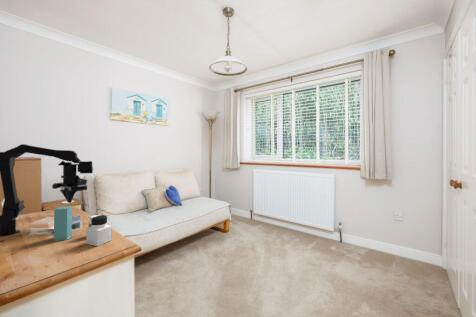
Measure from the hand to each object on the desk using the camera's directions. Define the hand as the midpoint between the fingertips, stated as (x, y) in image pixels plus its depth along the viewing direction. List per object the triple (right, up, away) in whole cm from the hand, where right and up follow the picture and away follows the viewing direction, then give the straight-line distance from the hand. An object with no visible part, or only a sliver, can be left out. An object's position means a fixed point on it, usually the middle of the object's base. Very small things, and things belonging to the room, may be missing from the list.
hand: (69, 202), depth 118 cm
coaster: (+9, -14, -16) cm, 23 cm away
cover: (+3, -10, -4) cm, 11 cm away
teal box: (+9, -13, -15) cm, 22 cm away
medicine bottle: (+28, -15, -19) cm, 37 cm away
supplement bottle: (+21, -14, -11) cm, 28 cm away
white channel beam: (+1, -13, -3) cm, 14 cm away
